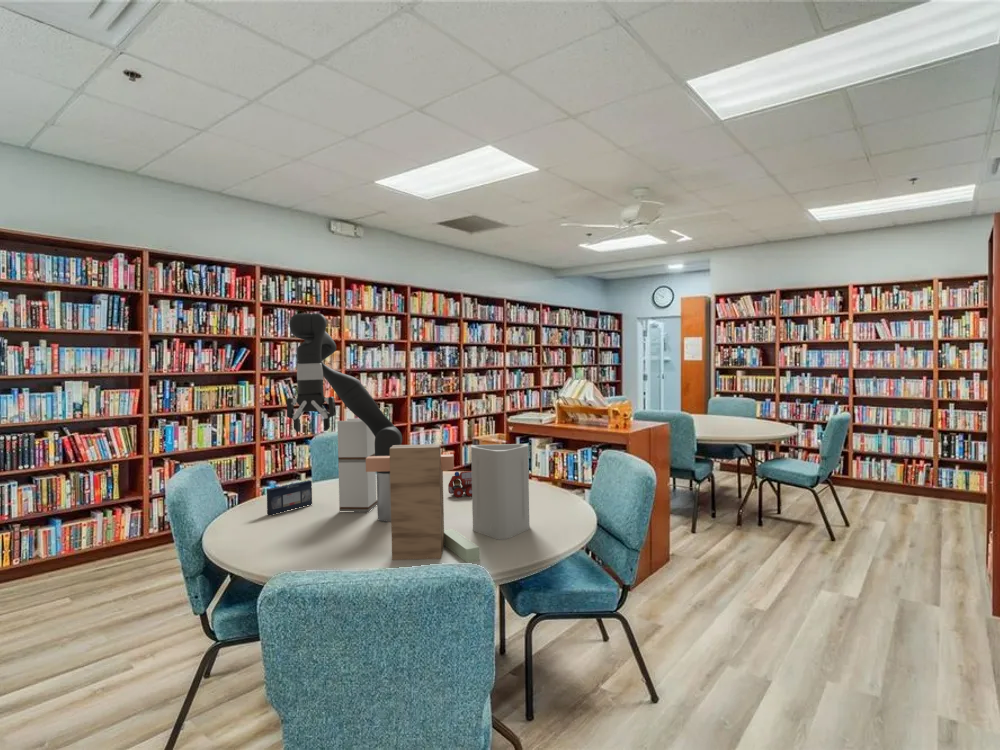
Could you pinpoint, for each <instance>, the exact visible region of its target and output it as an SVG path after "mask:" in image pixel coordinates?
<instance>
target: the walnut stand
mask: <svg viewBox="0 0 1000 750" xmlns="http://www.w3.org/2000/svg"><path fill="white" fill-rule="evenodd" d="M441 446H442V445H441V443H434V444H429V443H426V444H425V443H424V444H401V445H393V446H392V447H390V490H391V521H390V523H391V524H390V526H391V528H390V531H391V532H390V533H391V560H393V561H394V560H395V561H399V560H402V561H403V560H404V561H405V560H431V559H432V560H435V559H437V560H438V559H442V556H443V552H444V548H445V545H444V530H445V518H444V516H445V512H444V510H445V509H444V470H441V455H442V453H441V449H442V448H441Z"/></svg>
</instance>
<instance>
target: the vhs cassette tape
mask: <svg viewBox="0 0 1000 750" xmlns="http://www.w3.org/2000/svg"><path fill="white" fill-rule="evenodd" d="M312 483H313V482H312V480H305V481H298V482H294V483H290V484H286V485H280V486H276V487H272V488H271V487H270V488H268V489H266V509H267V510H266V513H267V514H268V515H267V516H270V515H272V516H274V515H273V514H276V513H280V512H284V511H287V510H291V509H295V508H299V507H303V506H307V505H311V504H312V505H313V487H312V485H313V484H312ZM312 505H311V506H312ZM307 507H308V506H307ZM303 508H304V507H303ZM284 513H285V512H284ZM280 514H281V513H280ZM276 515H277V514H276Z"/></svg>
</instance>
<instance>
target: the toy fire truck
mask: <svg viewBox="0 0 1000 750" xmlns="http://www.w3.org/2000/svg"><path fill="white" fill-rule="evenodd" d="M447 486H448V489H447V491H448V493H449V494H450V495H452V494H453V495H454V497H456V498H462V496H464V493H465V495H467V497H470V496H471V497H472V470H467V471H461V472H459V471H455V472H454V475H451V478H450V480H449V483H448V485H447Z"/></svg>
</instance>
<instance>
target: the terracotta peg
mask: <svg viewBox="0 0 1000 750" xmlns="http://www.w3.org/2000/svg"><path fill="white" fill-rule="evenodd" d="M454 459H455V456H454V453H453V454H452V453H451V454H441V470H443V471H450V470H451V471H453V470H454V468H455V462H454ZM382 471H390V456H368V457H367V458H366V472H376V473H377V472H382Z"/></svg>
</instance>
